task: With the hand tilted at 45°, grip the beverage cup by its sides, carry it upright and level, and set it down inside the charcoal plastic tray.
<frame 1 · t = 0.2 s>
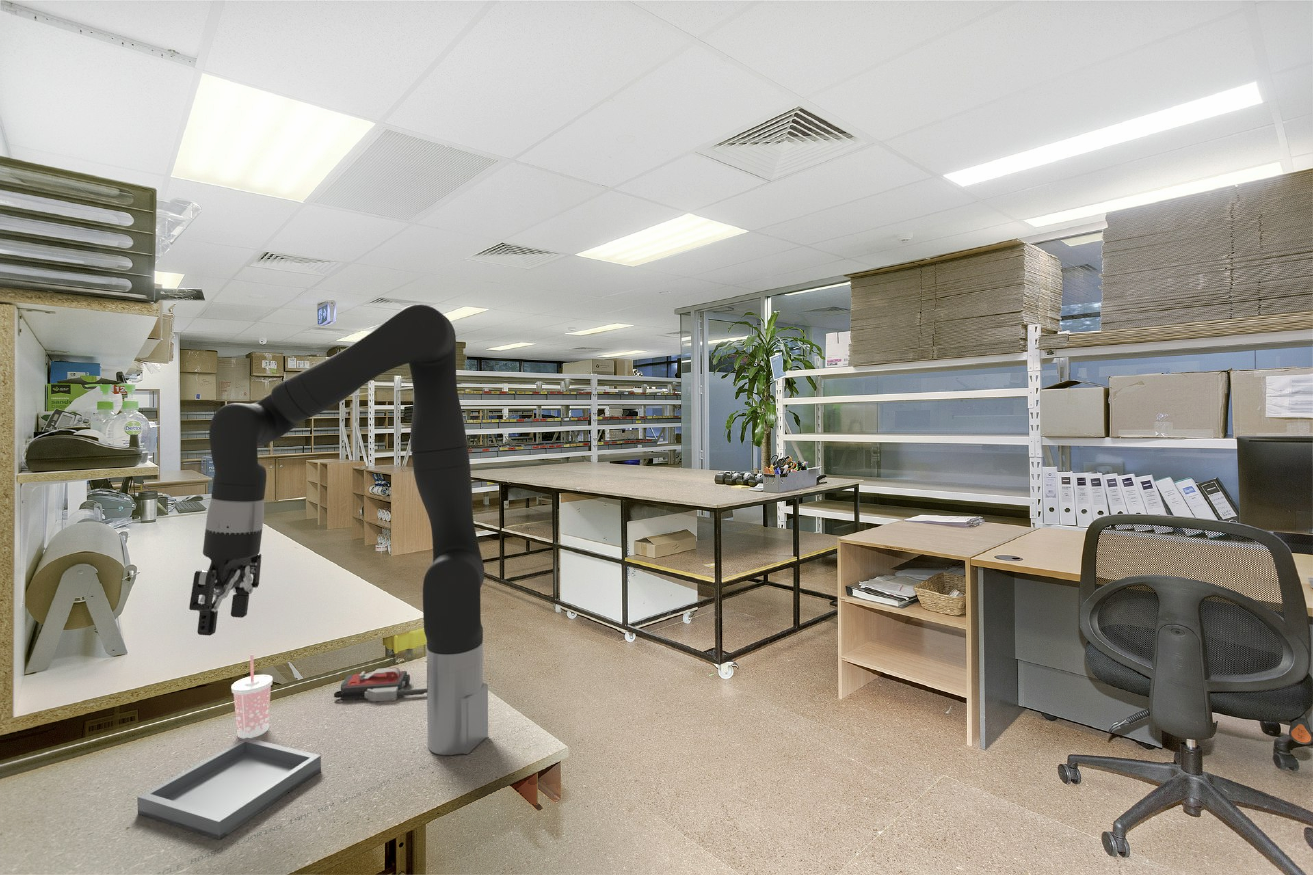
hand: (223, 625, 95), 23 cm above the table, tool pointing down, fingers open, 8 cm apart
beverage cup: (253, 732, 105), on the table
tray: (234, 790, 88), on the table
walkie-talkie: (390, 693, 120), on the table
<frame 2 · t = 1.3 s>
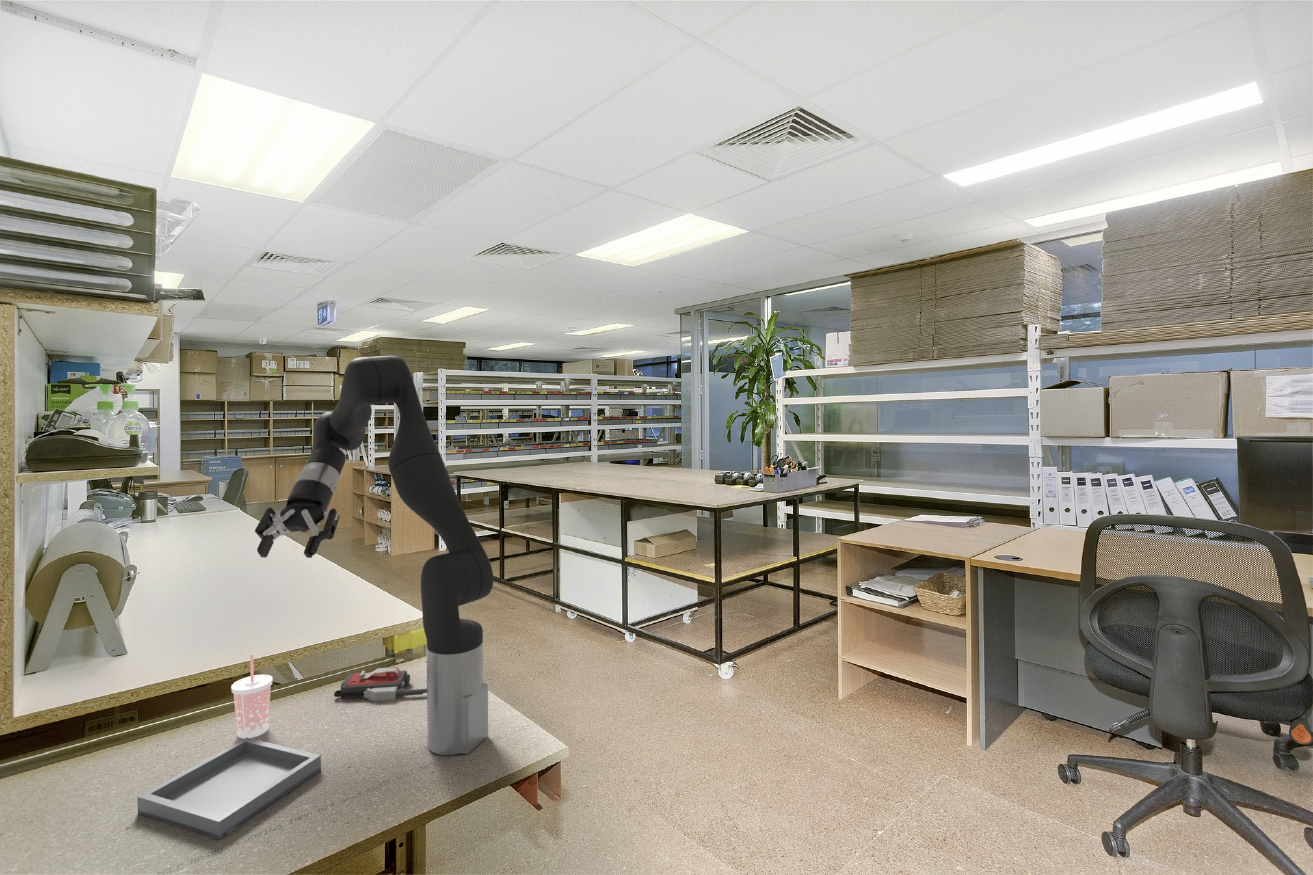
hand: (284, 555, 114), 29 cm above the table, tool tilted 45°, fingers open, 8 cm apart
nothing on the table moved.
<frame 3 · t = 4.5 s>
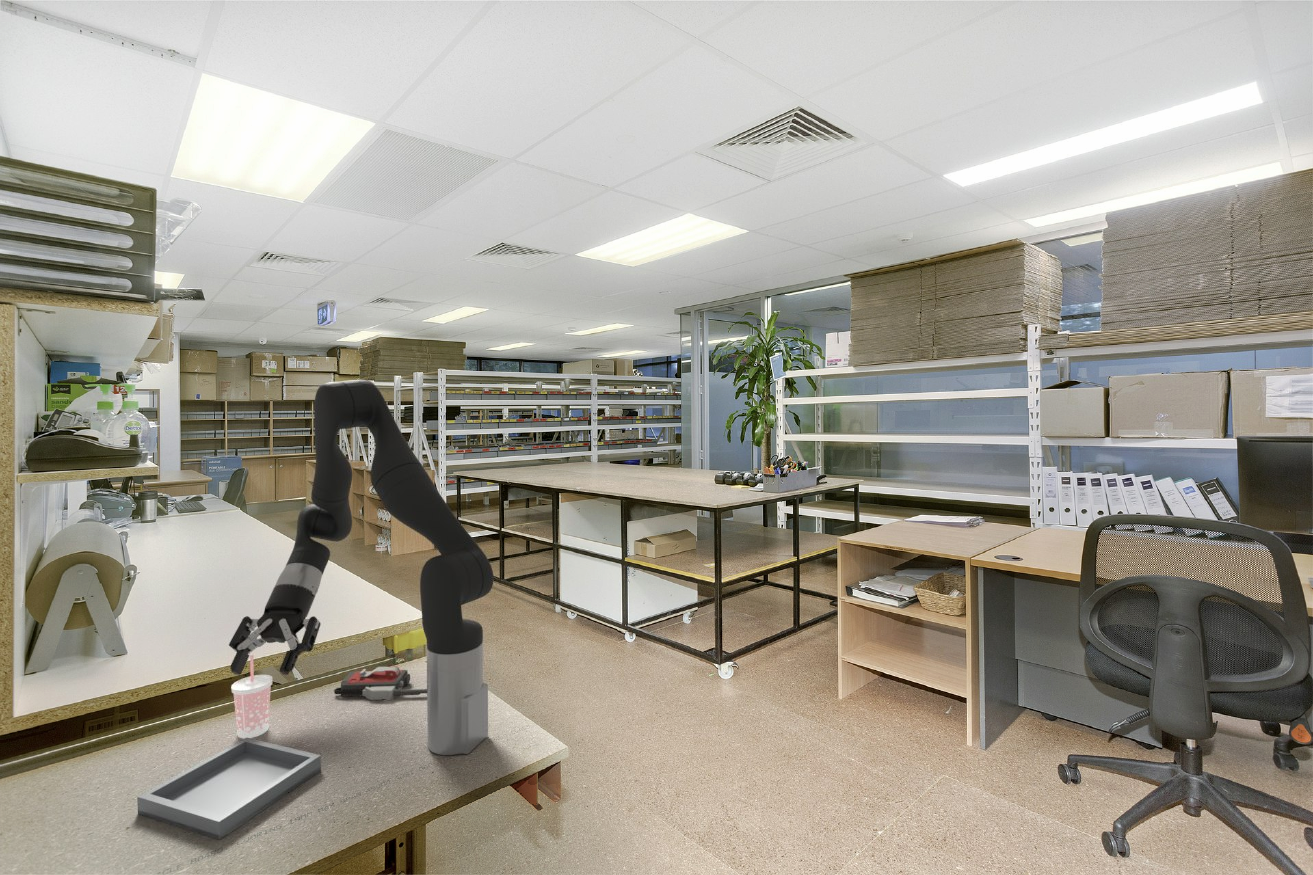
hand: (259, 673, 106), 10 cm above the table, tool tilted 45°, fingers open, 8 cm apart
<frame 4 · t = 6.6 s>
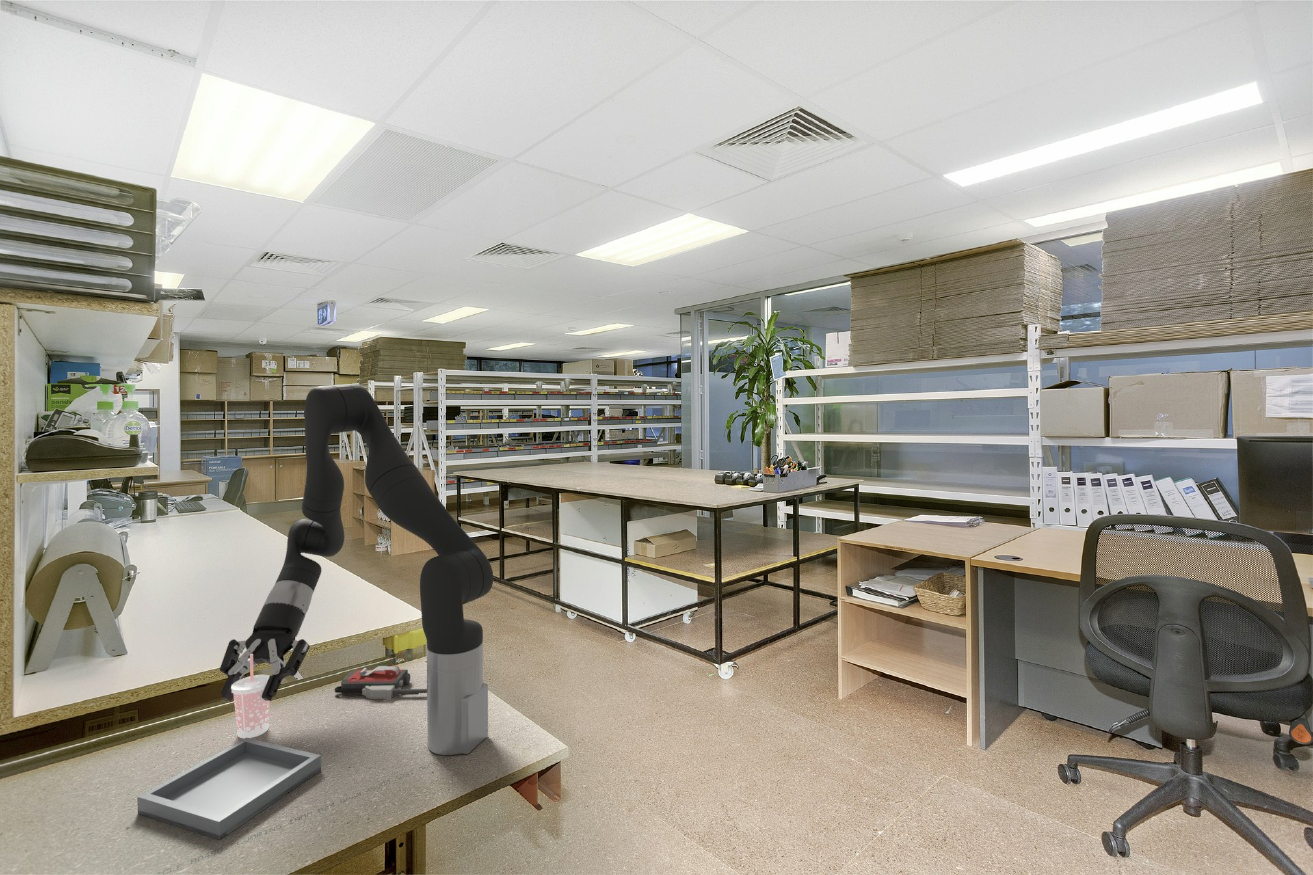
hand: (246, 698, 103), 7 cm above the table, tool tilted 45°, fingers closed on beverage cup, 6 cm apart
beverage cup: (253, 732, 105), on the table, touching gripper
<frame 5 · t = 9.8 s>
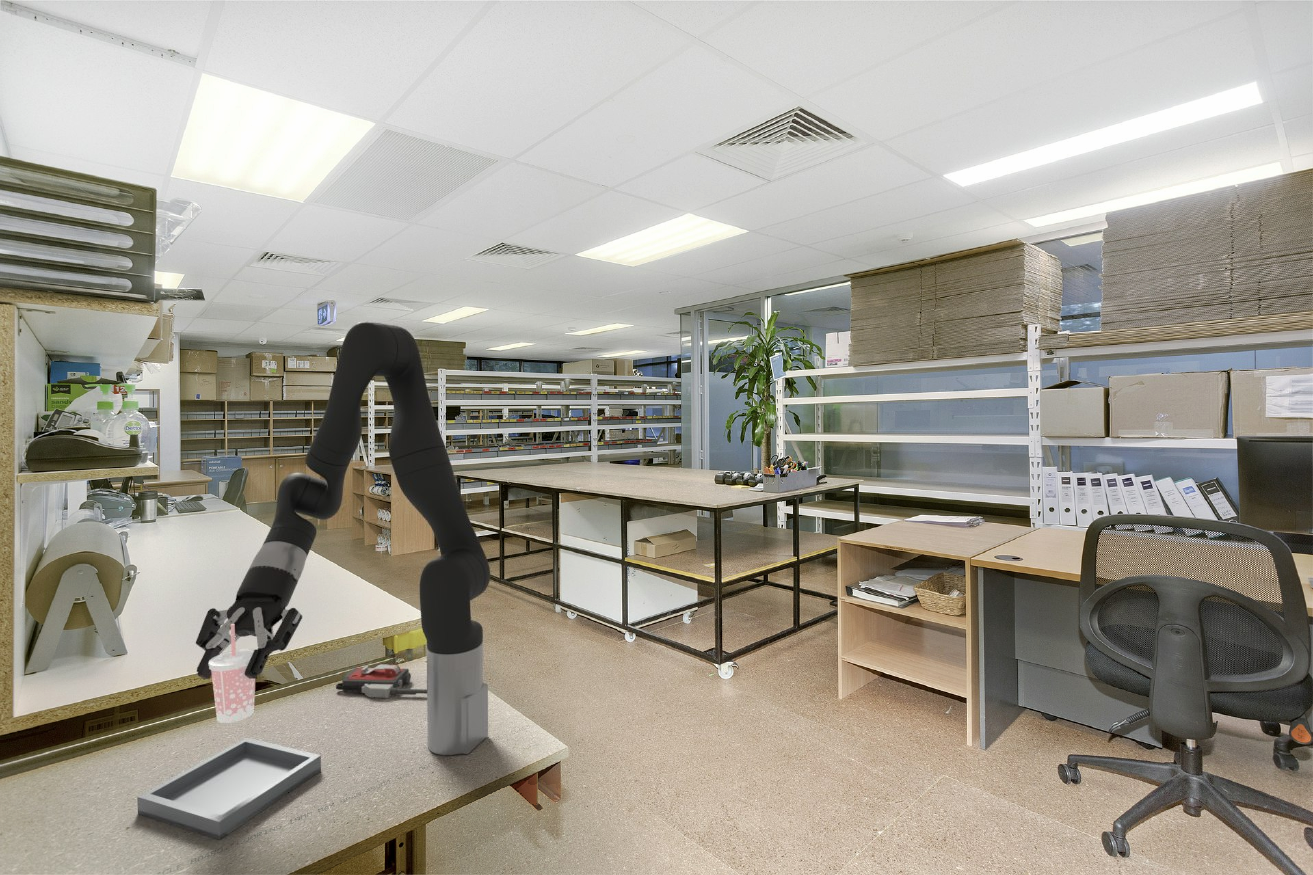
hand: (226, 676, 87), 18 cm above the table, tool tilted 45°, fingers closed on beverage cup, 6 cm apart
beverage cup: (235, 716, 89), point 11 cm above the table, touching gripper
when the fingers open (9 cm above the table, at t = 13.2 s): beverage cup drops 1 cm, resting on tray.
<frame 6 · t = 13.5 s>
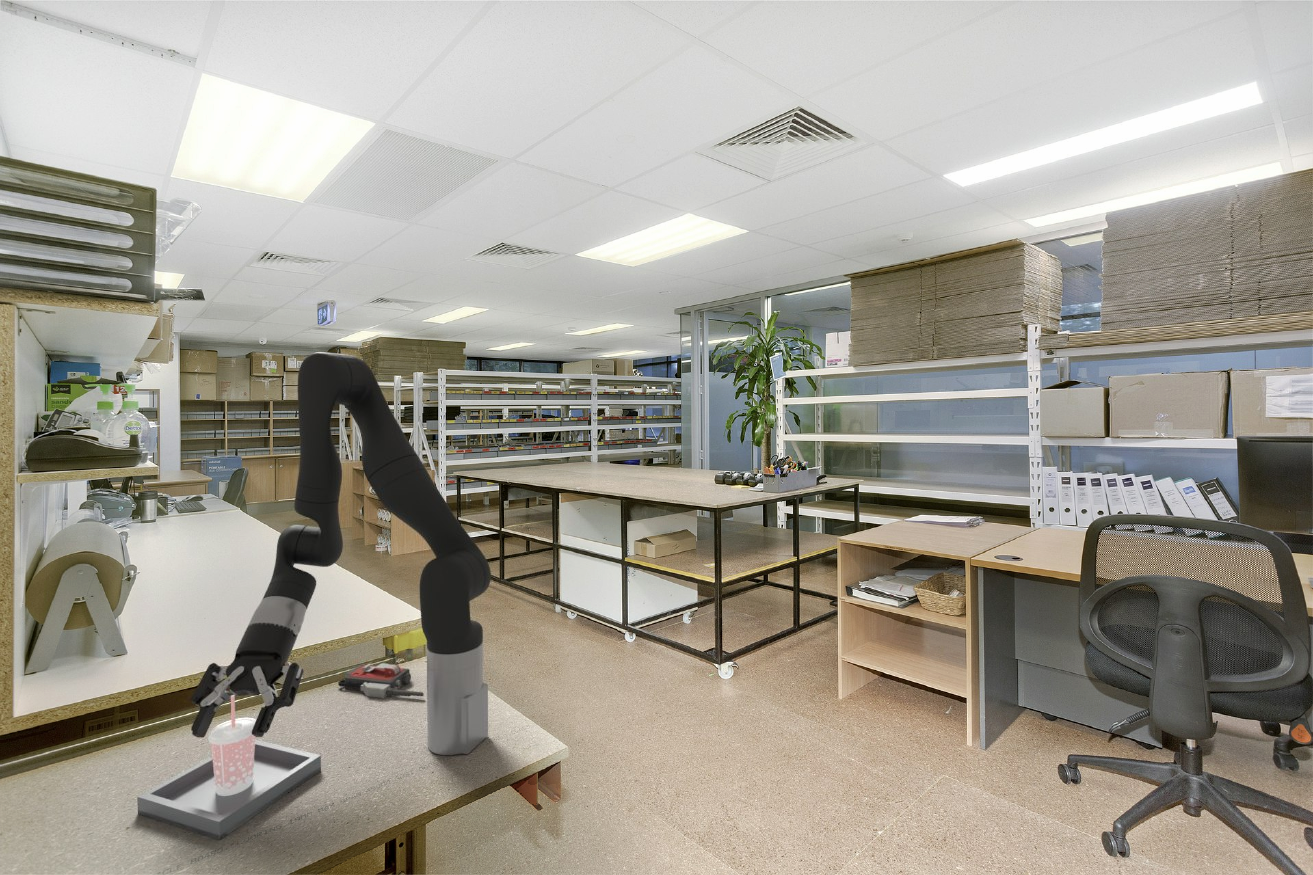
hand: (227, 735, 87), 9 cm above the table, tool tilted 45°, fingers open, 8 cm apart
beverage cup: (234, 787, 89), resting on tray
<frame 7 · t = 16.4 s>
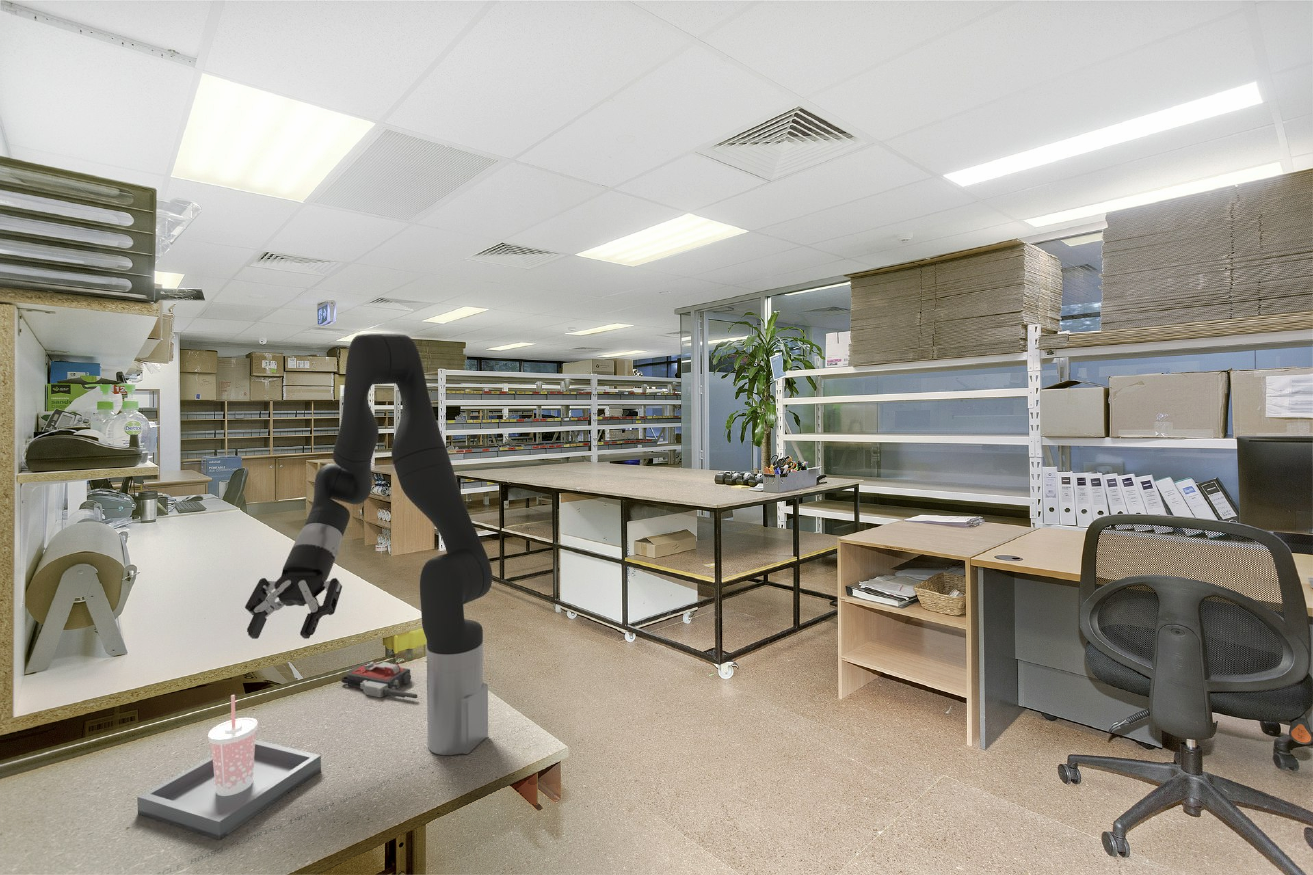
hand: (278, 636, 99), 19 cm above the table, tool tilted 45°, fingers open, 8 cm apart
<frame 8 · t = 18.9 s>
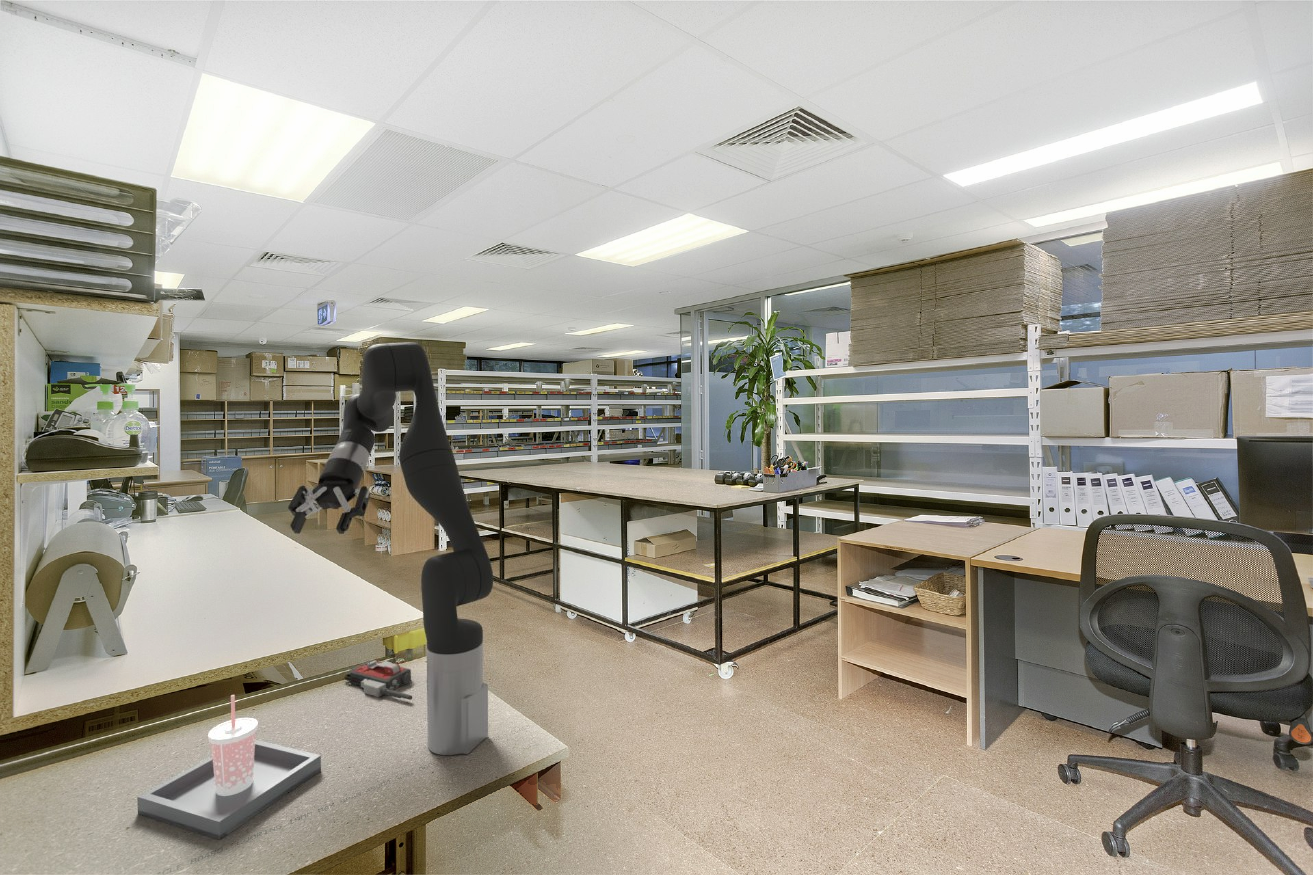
hand: (317, 531, 115), 34 cm above the table, tool tilted 45°, fingers open, 8 cm apart
at the end: beverage cup inside the target area on the tray (0.3 cm from its centre), point 0.4 cm above the tray's base; beverage cup tilted 0°; the gripper is holding nothing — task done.
